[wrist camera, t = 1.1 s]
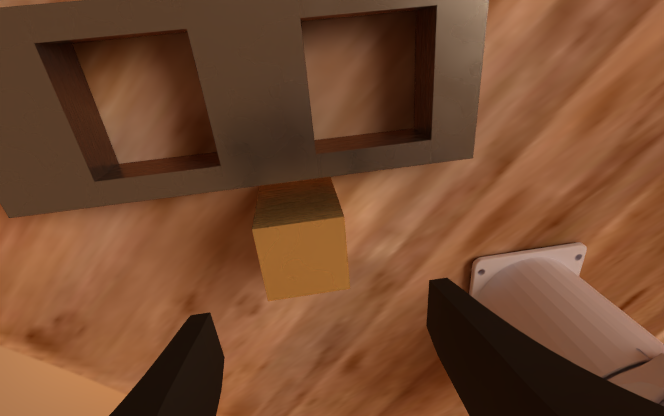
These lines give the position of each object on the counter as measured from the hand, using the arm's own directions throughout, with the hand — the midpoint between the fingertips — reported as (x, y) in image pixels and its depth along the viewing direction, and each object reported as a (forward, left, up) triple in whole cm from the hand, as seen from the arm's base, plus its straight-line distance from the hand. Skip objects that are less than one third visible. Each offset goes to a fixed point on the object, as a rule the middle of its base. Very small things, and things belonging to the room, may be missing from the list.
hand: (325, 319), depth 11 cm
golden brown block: (-1, +1, -10) cm, 10 cm away
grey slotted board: (+6, +3, -9) cm, 12 cm away
